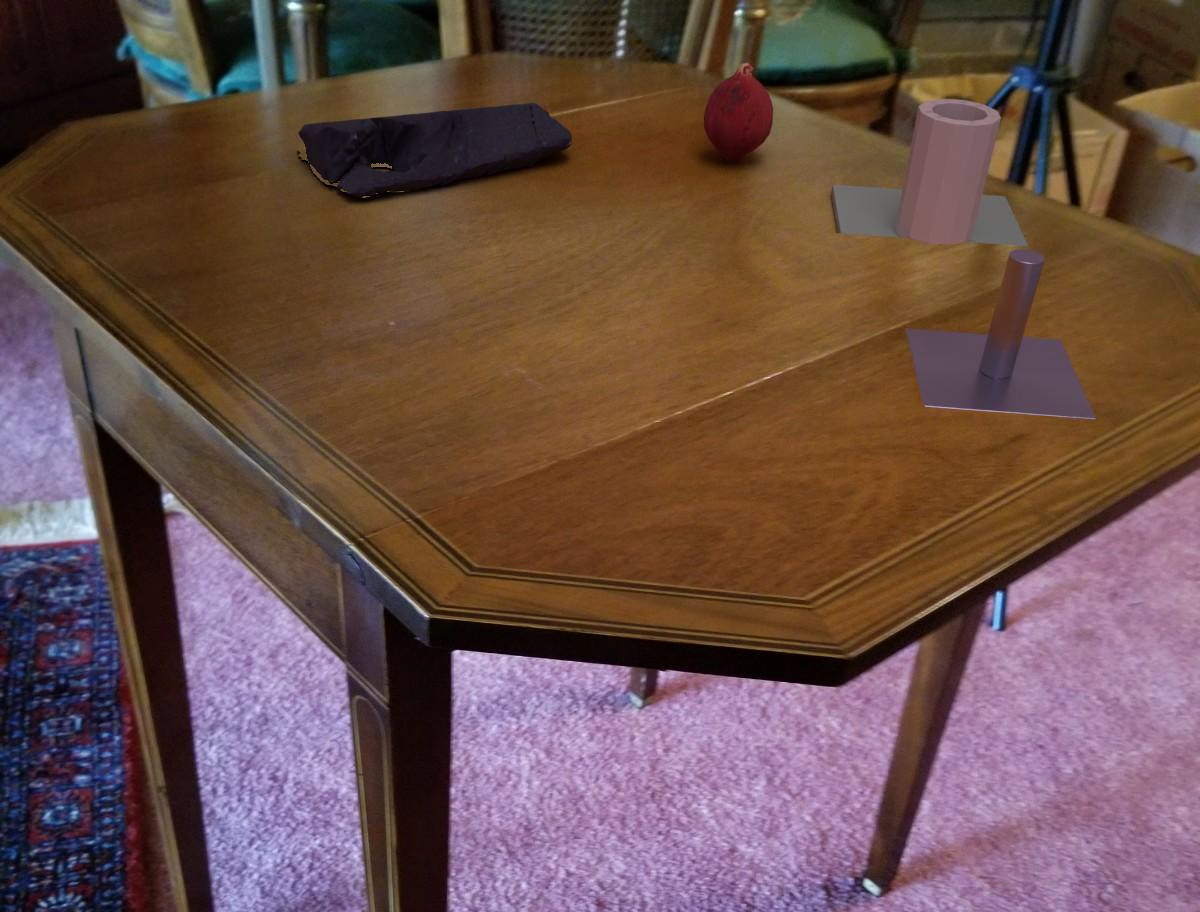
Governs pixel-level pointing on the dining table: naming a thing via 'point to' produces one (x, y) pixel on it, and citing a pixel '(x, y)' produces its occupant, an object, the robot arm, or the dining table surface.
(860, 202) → the mat
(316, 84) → the dining table surface
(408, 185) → the black folded cloth
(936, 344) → the roll stand
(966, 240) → the paper roll
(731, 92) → the onion
